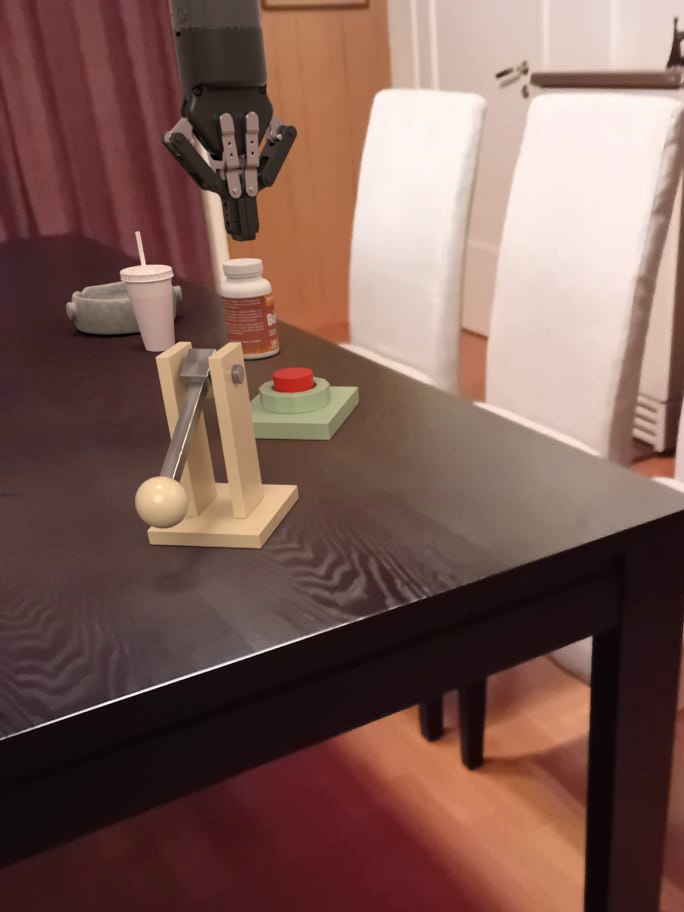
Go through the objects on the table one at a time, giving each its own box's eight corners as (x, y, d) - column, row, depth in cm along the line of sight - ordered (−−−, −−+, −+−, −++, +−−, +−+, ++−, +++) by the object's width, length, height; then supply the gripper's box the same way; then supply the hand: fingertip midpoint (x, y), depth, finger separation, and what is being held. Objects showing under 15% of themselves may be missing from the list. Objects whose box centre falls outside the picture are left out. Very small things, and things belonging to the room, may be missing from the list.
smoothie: (174, 338, 134) (154, 226, 127) (193, 348, 130) (174, 232, 123) (127, 347, 131) (104, 232, 124) (145, 357, 126) (122, 238, 119)
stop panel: (329, 440, 98) (326, 405, 96) (231, 438, 99) (225, 403, 97) (359, 402, 108) (356, 369, 106) (269, 400, 109) (265, 368, 108)
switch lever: (189, 539, 70) (170, 508, 67) (140, 537, 71) (120, 507, 68) (237, 377, 78) (222, 342, 75) (193, 376, 78) (176, 341, 75)
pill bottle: (282, 357, 124) (270, 263, 119) (232, 363, 123) (217, 267, 117) (277, 345, 130) (265, 254, 124) (228, 350, 128) (214, 258, 123)
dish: (192, 314, 147) (186, 278, 144) (157, 338, 135) (150, 299, 132) (97, 314, 148) (89, 278, 145) (54, 338, 136) (45, 300, 134)
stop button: (308, 396, 100) (306, 378, 99) (269, 395, 101) (267, 378, 100) (319, 384, 104) (317, 367, 103) (281, 383, 104) (279, 366, 103)
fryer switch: (260, 548, 77) (233, 369, 70) (149, 544, 78) (111, 367, 71) (299, 498, 85) (278, 333, 78) (198, 495, 87) (168, 332, 80)
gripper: (263, 25, 92) (283, 228, 101) (124, 24, 85) (160, 243, 93) (307, 23, 87) (325, 236, 96) (164, 22, 80) (197, 253, 88)
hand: (243, 239), depth 95 cm, fingers closed
